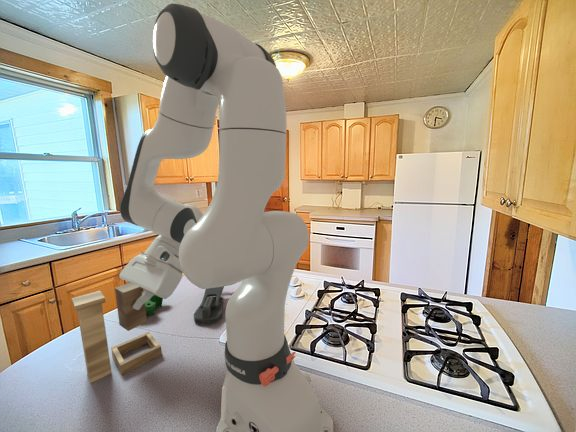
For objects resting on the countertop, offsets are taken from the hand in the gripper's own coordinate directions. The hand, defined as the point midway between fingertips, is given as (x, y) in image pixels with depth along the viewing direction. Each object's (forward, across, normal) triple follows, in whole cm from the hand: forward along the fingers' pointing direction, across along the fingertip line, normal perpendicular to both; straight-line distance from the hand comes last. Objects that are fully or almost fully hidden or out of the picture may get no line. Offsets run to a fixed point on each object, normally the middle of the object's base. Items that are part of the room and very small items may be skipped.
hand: (128, 305), depth 62 cm
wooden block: (+3, 0, +4) cm, 5 cm away
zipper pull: (-10, -4, +31) cm, 33 cm away
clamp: (0, -19, +21) cm, 28 cm away
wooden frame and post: (+12, 0, +8) cm, 15 cm away
